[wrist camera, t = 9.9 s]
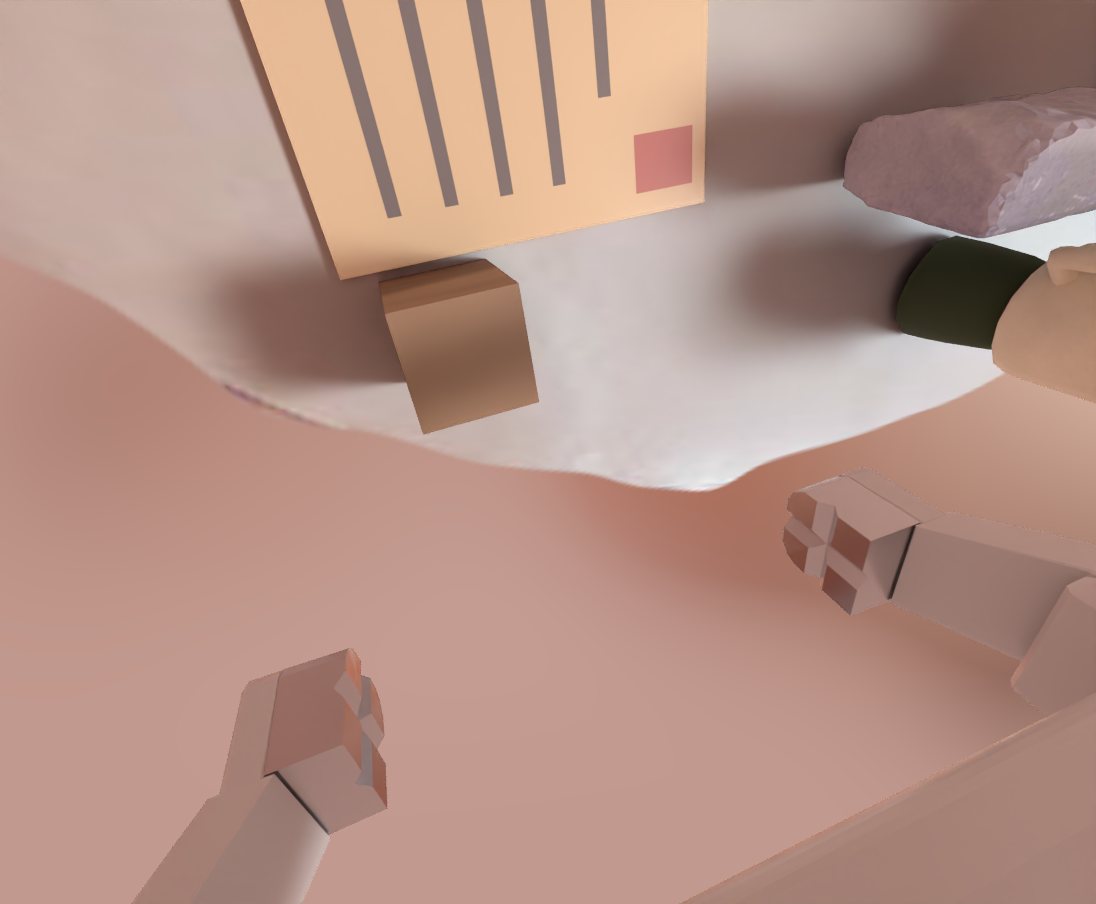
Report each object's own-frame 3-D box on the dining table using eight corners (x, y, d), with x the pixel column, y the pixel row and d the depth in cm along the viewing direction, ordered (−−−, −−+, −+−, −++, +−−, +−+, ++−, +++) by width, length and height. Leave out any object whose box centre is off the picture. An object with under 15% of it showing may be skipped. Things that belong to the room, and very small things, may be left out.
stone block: (809, 221, 28) (996, 246, 20) (825, 119, 26) (1046, 98, 17) (973, 189, 31) (1200, 199, 22) (1002, 93, 28) (1269, 64, 20)
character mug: (991, 293, 35) (1267, 349, 25) (913, 373, 37) (1142, 459, 26) (943, 178, 30) (1277, 186, 19) (853, 278, 31) (1115, 340, 20)
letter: (201, -110, 16) (199, -114, 16) (706, -144, 19) (710, -148, 19) (340, 278, 22) (340, 280, 22) (700, 201, 26) (704, 202, 25)
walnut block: (379, 281, 23) (384, 313, 18) (485, 258, 24) (518, 283, 19) (410, 382, 25) (423, 434, 21) (505, 357, 26) (539, 401, 21)
